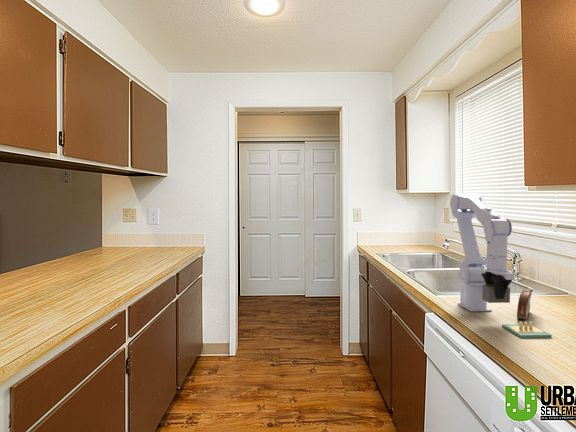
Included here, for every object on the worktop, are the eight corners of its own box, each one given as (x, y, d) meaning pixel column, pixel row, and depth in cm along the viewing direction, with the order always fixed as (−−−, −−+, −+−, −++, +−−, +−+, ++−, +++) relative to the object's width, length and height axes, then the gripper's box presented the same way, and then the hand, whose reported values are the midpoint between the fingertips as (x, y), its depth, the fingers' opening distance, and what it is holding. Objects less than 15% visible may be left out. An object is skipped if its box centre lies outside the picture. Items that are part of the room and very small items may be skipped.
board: (502, 326, 112) (502, 317, 112) (530, 326, 112) (530, 317, 112) (520, 337, 103) (521, 327, 103) (551, 337, 103) (551, 327, 103)
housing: (482, 299, 118) (482, 284, 118) (502, 299, 118) (502, 284, 118) (488, 302, 114) (489, 287, 114) (509, 302, 114) (510, 287, 114)
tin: (521, 309, 129) (522, 287, 128) (531, 311, 127) (532, 288, 126) (515, 321, 117) (516, 296, 116) (527, 323, 115) (527, 298, 114)
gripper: (472, 252, 123) (472, 290, 123) (497, 259, 108) (496, 303, 109) (493, 252, 123) (492, 290, 123) (520, 259, 108) (519, 303, 109)
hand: (495, 296), depth 116 cm, fingers closed on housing, 4 cm apart
